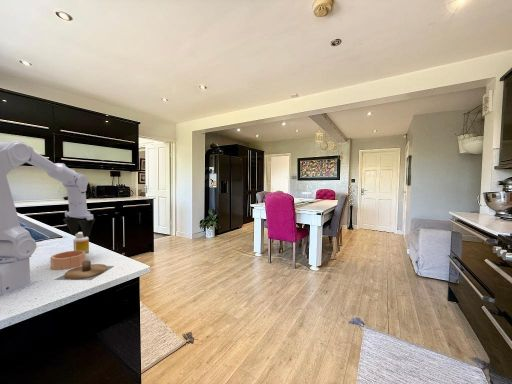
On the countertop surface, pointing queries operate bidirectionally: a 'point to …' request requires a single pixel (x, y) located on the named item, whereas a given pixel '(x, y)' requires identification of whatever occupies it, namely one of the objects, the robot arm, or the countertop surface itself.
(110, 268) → the mat
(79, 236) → the supplement bottle
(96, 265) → the lid
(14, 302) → the countertop surface
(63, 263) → the bowl
